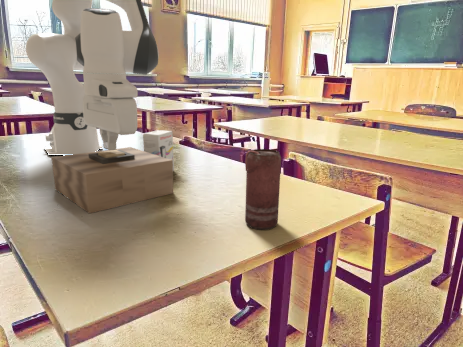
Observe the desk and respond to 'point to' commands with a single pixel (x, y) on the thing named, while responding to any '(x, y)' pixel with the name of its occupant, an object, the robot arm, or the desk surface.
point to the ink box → (159, 143)
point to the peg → (111, 153)
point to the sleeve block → (112, 178)
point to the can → (262, 188)
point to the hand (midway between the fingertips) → (110, 149)
